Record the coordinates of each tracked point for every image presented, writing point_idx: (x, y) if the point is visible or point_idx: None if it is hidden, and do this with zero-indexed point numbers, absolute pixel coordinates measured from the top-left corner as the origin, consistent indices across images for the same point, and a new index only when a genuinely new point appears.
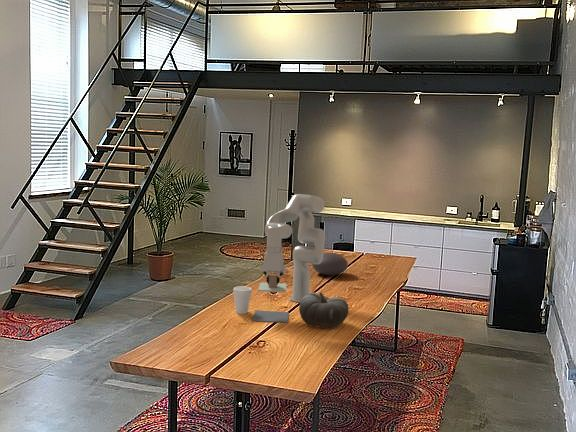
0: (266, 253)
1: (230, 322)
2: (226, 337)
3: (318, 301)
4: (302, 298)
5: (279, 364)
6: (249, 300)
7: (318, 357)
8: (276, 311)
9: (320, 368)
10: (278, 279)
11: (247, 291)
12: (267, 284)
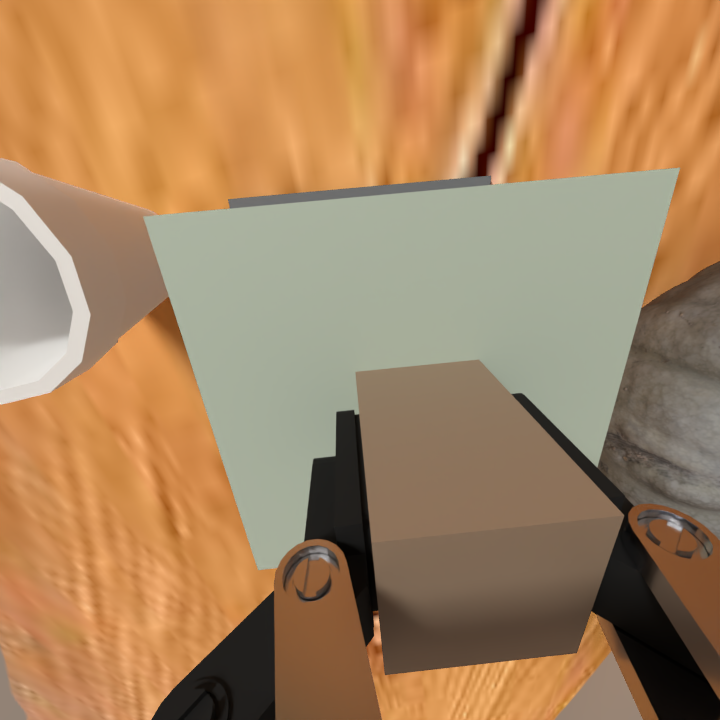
0: None
1: (171, 468)
2: (238, 618)
3: None
4: (692, 438)
5: (446, 716)
6: (150, 263)
7: (557, 665)
8: (395, 186)
9: (549, 708)
10: None
11: (83, 364)
12: (316, 326)
